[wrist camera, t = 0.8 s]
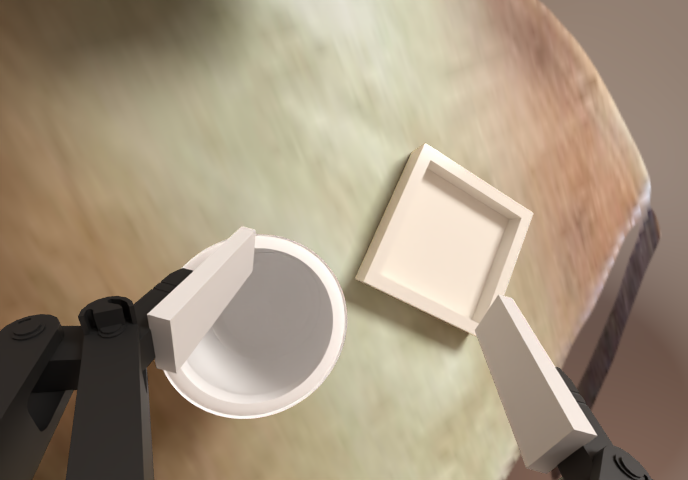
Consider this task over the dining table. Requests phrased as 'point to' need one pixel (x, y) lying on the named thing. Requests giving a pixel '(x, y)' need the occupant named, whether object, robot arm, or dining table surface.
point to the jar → (268, 335)
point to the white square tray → (445, 241)
